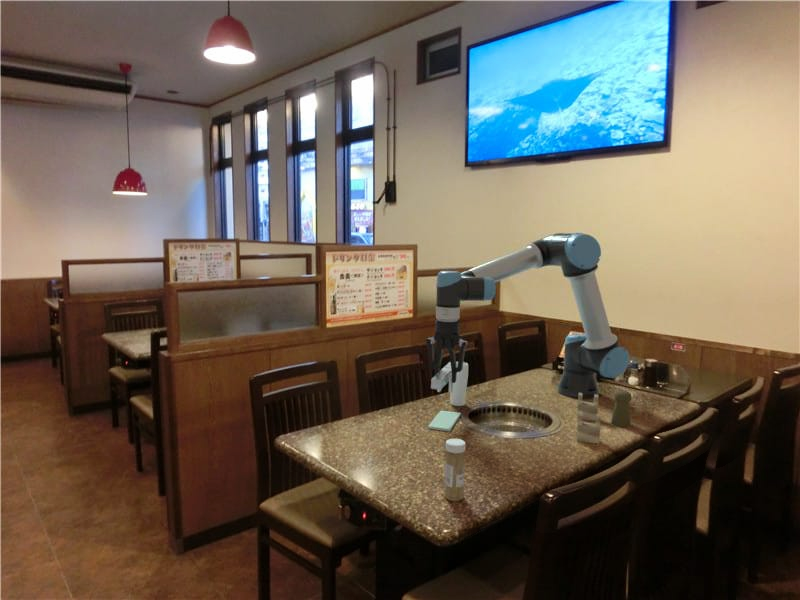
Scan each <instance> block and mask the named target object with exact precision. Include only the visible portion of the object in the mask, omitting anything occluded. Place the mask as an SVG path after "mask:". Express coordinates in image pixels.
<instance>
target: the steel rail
mask: <svg viewBox="0 0 800 600" xmlns="http://www.w3.org/2000/svg"><path fill="white" fill-rule="evenodd" d="M457 362H458V361H456V366H457V368H458V363H457ZM451 371H452V370H451V362H450V361H449V362H448V363H447V364H446V365H444V366H443V368H441V369H440V371H439V372H438V373H437V374H436V375H435V374H434V376H433V377H432V378H431V383H430V389H432V390H437V389H438V390H441V389H443V388H444V387H445V386H446V385H447V384H448V383H449V373H450V372H451ZM441 391H442V390H441Z"/></svg>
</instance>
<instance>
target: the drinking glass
mask: <svg viewBox="0 0 800 600" xmlns="http://www.w3.org/2000/svg"><path fill="white" fill-rule="evenodd" d="M456 362H457V363H458V361H456ZM468 378H469V364H468V362H465V361H463V369H462V370H461V371H460V372H457V375H456V382H455V383H453V391H452V393H449V397H450V399H449V403H450V405H451V406H453V407H463V406H465V404H466V396H467V387H468V386H467V385H468Z"/></svg>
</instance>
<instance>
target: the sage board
mask: <svg viewBox="0 0 800 600" xmlns="http://www.w3.org/2000/svg"><path fill="white" fill-rule="evenodd" d="M461 415H462V412H456V411H449V410H448V411H446V410H439V412H438V413H437V415H436V416H435V417H434V418H433V420H432V421H431V422H430V423H429V424H428V425H427V429H429V430H437V431H443V432H449V433H450V432H451V431H452V429H453V427H454V426H455V425H456V423H457V421H458V420H459V419H460V417H461Z"/></svg>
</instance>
